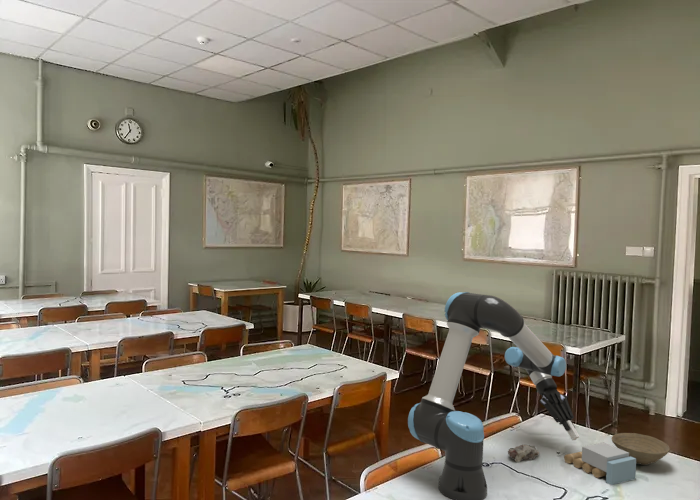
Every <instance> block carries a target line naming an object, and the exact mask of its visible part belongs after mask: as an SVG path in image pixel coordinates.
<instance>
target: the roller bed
mask: <svg viewBox="0 0 700 500" xmlns="http://www.w3.org/2000/svg"><path fill="white" fill-rule="evenodd" d="M563 460H564V462H565V463H566V464H567V465H568V464H572V465H573V466H574V468H576V469H580V468H582V470H583V472H584V473H585V474H586V473H587V474H588V473H591V474H592V475H593V477H594V478H603V477H606V472H605V471H603V470H601V469H598V468H596V467H594V466H592V465H590V464H588V463H586V462H584V461H582V451H578V452H573V453H567V454H565V455H564V456H563Z"/></svg>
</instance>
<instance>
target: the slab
mask: <svg viewBox="0 0 700 500" xmlns="http://www.w3.org/2000/svg"><path fill="white" fill-rule="evenodd" d="M581 452H582V461H584V462H586V463H588V464H590V465H592V466H594V467H596V468H598V469H601V470H603V471H605V472H606V471H607V462H608V461H613V460H617V459H621V458H626V457H629V453H628V452H626V451H624V450H621V449H619V448H617V447H616V446H615V445H614V446H613V445H611V444H609V443H607V442H603V441H602V442H598V443H597V442H596V443H592V444H587V445H583V446H581Z"/></svg>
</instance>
